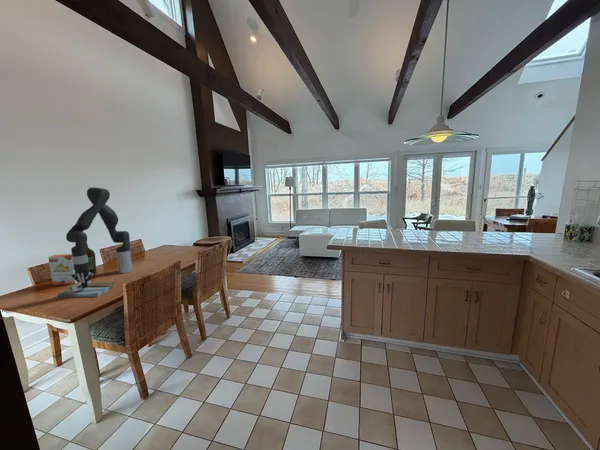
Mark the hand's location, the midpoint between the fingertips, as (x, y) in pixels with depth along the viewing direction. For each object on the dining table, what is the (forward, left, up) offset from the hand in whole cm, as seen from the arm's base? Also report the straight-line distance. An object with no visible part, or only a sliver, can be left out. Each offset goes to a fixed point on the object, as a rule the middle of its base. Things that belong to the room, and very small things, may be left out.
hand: (84, 287), depth 164 cm
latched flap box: (-3, -1, -4) cm, 5 cm away
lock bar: (-3, -4, -1) cm, 5 cm away
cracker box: (-18, -27, -4) cm, 32 cm away
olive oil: (-37, -26, -4) cm, 45 cm away
